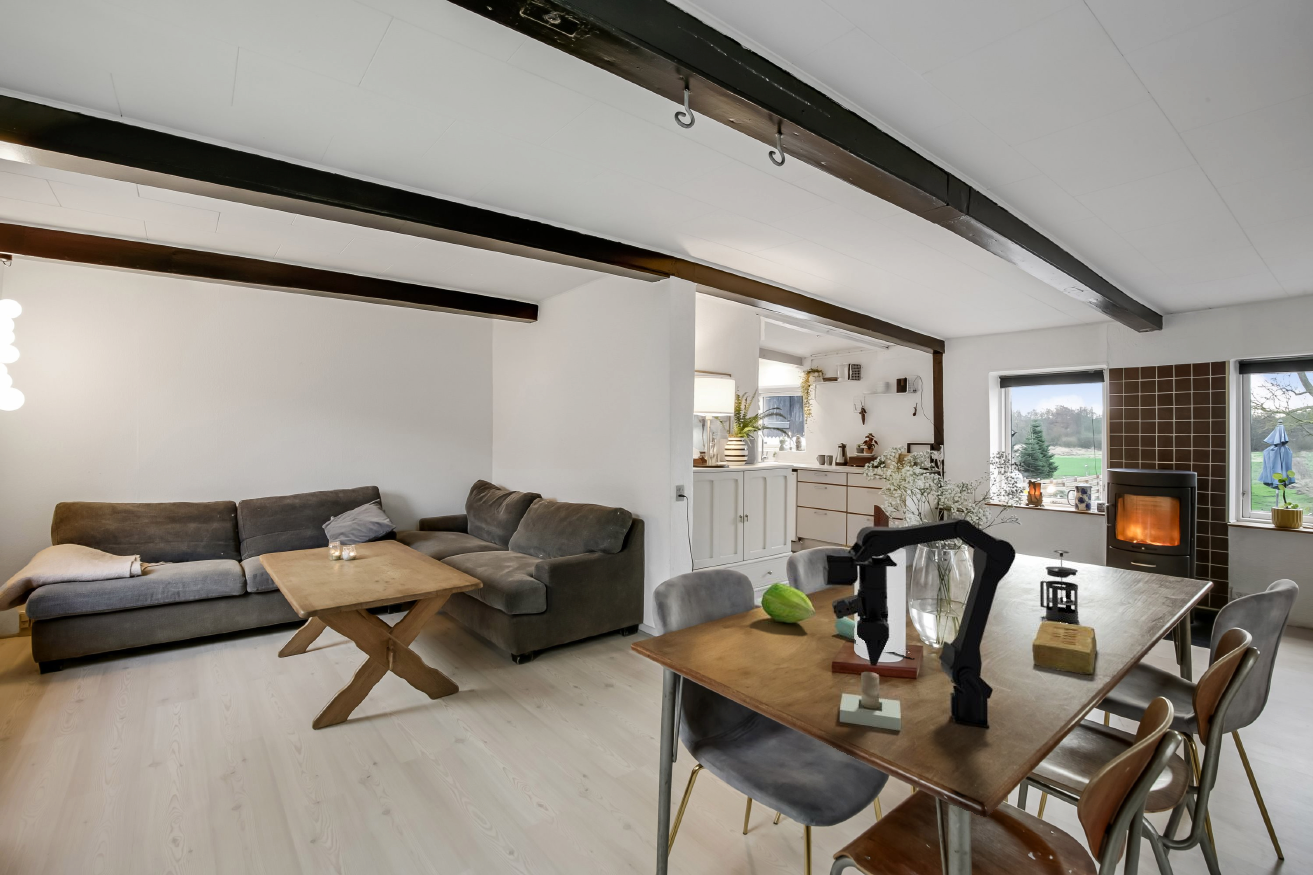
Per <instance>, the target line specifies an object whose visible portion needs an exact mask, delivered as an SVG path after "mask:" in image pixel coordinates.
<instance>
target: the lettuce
mask: <svg viewBox="0 0 1313 875" xmlns="http://www.w3.org/2000/svg"><path fill="white" fill-rule="evenodd" d="M760 604H761V606H762V610H763V611H764V612H765V613H766V615H768V616H769V617H770V618H771V619H773V620H774V621H775V622H781V623H800V622H802V621H805V620H809V619H812V618H814V617H815V615H816V610H815V608H814V607H813V604H812V602H811V600H810V599H809V598H808V596H807V595H806V594H805V593H804V592H802V591H800V590H799V589H797V588H796V587H792V586H790V585H786V584H784V583H779V582H776V583H773V584H771V586H769V588H767V589H766V591H765V592H763V594H762V598H761V601H760Z"/></svg>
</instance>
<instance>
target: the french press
mask: <svg viewBox="0 0 1313 875" xmlns="http://www.w3.org/2000/svg"><path fill="white" fill-rule="evenodd" d="M1053 552H1054V553H1057V554H1059V557H1060V566H1047V567H1045V570H1046V572H1047V573H1046V574H1047V576H1051V577H1054V578H1060V580H1048V581H1047V580H1040V582H1039V585H1040V586H1039V587H1040V590H1039V593H1040V594H1039V595H1040V596H1039V598H1040V599H1039V600H1040V601H1039V602H1040V603H1039V604H1040V605H1039V606H1040V607H1041V608H1044V609H1045V616H1044V617H1045V619H1046V620H1047V621H1050V622H1061V623H1076V624H1078V623H1077V622H1079V623H1080V620H1079V608H1078V607H1079V606H1078V605H1079V602H1078V600H1079V599H1078V598H1079V597H1078V596H1079V595H1078V593H1079V592H1078V591H1079V585H1078V584H1076V583H1073V582H1068V581H1063V579H1066V578H1068V577H1070V576H1074V577H1075V576H1076V575H1077V573H1078V571H1079V570H1077V569H1076V568H1072V567H1066V566H1063V558H1064V554H1069V553H1070V552H1069V551H1067V550H1063V549H1061V550H1060V549H1059V550H1058V549H1057V550H1054V551H1053ZM1044 587H1046V588H1044ZM1050 589H1051V590H1050ZM1044 590H1046V591H1044ZM1050 591H1051V592H1050ZM1059 591H1060V597H1059ZM1063 591H1065V597H1063ZM1045 592H1046V595H1045ZM1072 592H1073V594H1074V595H1073V596H1074V600H1073V599H1072ZM1050 594H1051V596H1050ZM1045 596H1046V597H1045ZM1045 598H1046V599H1045ZM1045 600H1046V603H1045ZM1045 604H1046V605H1045ZM1059 605H1060V606H1059ZM1072 606H1073V607H1074V608H1072Z"/></svg>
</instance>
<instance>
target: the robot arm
mask: <svg viewBox="0 0 1313 875" xmlns="http://www.w3.org/2000/svg"><path fill="white" fill-rule="evenodd" d="M855 538H856V541H855V542H854V543H853V545H852V546H851V547H850V549H849V550H848V551H847V552H846V554H835V553H825V554H824V561H823V566H822V578H823V584H824V586H835V587H836V586H840V587H841V586H843V587H846V586H848V587H849V586H850V587H851V586H853V585H854V584H856V582H857V581H858V589H857V592H856V593H857V594H853V595H848V596H844V597H842V598H838V599H835V600H833V601H832V603H831V607H832V609H833V613H834V614H835V617H836V620H837V619H841V618H843V617H849V616H853V615H856V614H857V617H859V620H857V621H856V622H857V635H858V637H859V638H861V639H862V640H864V641H865V643H864V644H865V645H866V646H865V647H866V650H867V656H868V659H869V663H870V666H873V667H876V666H878V662H879V660H880V658H881V655H882V654H883V651H884V647H885V645H886V643H887V641H889V638H890V624H889V623H888V621H889V619H888V618H889V607H888V576H887V574H888V570H887V569H888V567H890V568H891V567H892V568H893V567H895V568H896V567H897V566H898V563H897V562H895V560H893V559H892V558H891V556H890V554H892V553H894V552H896V551H898V550H901V549H902V548H905V547H908V546H909V547H910V546H915V545H917V546H918V545H922V544H928V543H929V544H930V543H934V542H942V541H949V540H954V539H959V540H960V541H962V542H963V543H964V544H966V545H967V546H968V547H969V548H971V549H972V550H973V551H972V565H973V566H972V567H973V573H974V574H973V578H972V583H971V586H970V589H969V592H968V596H967V599H966V603H965V606H964V610H963V613H962V617H961V619H960V624H959V627H958V631H957V634H956V637H955V638H954V639H953V640H952V642H948V641H944V642H943V644H942V650H941V651H942V652H941V654H939V656H938V660H940V668H941V670H942V671H943V673H944V674H945V676H947V677H948V678H949V680H950V682H951V683H952V684H953V685H952V692H950V693H949V697H950V698H949V700H950V702H949V703H950V704H949V705H950V706H949V707H950V708H949V712H950V715H951V717H953V720H954V723H956V724H961V725H962V724H963V725H968V726H975V727H982V728H990V722H989V721H988V720H989V718H988V717H989V716H988V715H989V714H988V713H989V712H988V710H989V709H988V705H989V704H988V700H989V699H990V698H991V696H992V694H993V691H994V689H993V687H992V686H990V685H989V684H988V683H987V682H986V681H985V680H984V679H983V678H982V677H981V675H982V666H983V665H982V664H983V662H982V654H981V644H982V641H983V636H984V634H985V631H986V627H987V623H988V619H989V616H990V613H991V610H992V605H993V602H994V598H995V595H996V592H997V588H998V585H999V583H1000V581H1001V580H1003V578H1004V577H1005V576H1006V575H1007V574H1008V573H1009V571H1010V569H1011V567H1012V565H1013V563H1014V561H1015V559H1016V549H1015V548H1014V547H1013V545H1012V544H1011V543H1010V542H1009V541H1007V540H1005V539H1002V538H999V537H995V536H993V535H990V534H988V533H987V532H986V531H983V530H982V529H980V528H978V527H977V526H975V525H974V524H972V523H971V522H970V521H969V520H968V519H965V518H962V517H952V518H950V519H944V520H939V521H933V522H925V523H920V524H914V525H913V524H911V525H908V526H900V527H893V526H892V527H889V526H865V527H862V528H861V529H859V531H858V533H857V535H856V537H855Z"/></svg>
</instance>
